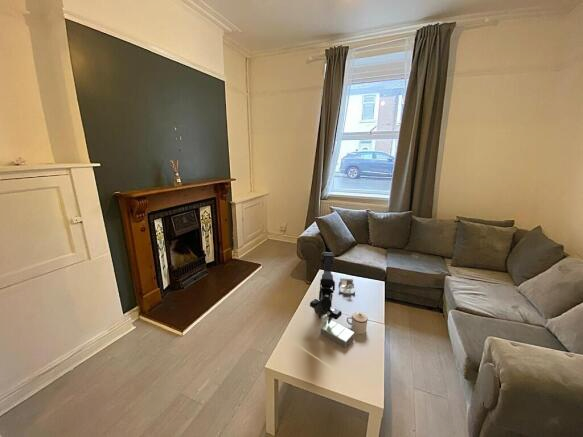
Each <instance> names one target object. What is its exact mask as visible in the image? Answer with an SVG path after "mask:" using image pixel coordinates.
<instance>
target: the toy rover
mask: <svg viewBox="0 0 583 437" xmlns="http://www.w3.org/2000/svg"><path fill="white" fill-rule="evenodd" d="M339 280H340V281H339V282H338V286H339V290H338V294H339V295H341V294H343V295H352V296H354V297H355V296H356V291H354V287H355V286H354V285H355V283H354V279H353V278H347V277H340V279H339Z"/></svg>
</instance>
